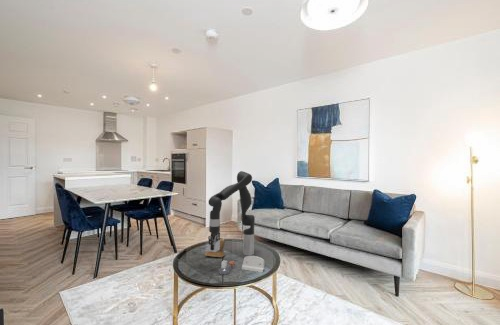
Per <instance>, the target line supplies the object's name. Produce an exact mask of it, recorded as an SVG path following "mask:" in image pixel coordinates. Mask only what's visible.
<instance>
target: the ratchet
mask: <svg viewBox="0 0 500 325" xmlns="http://www.w3.org/2000/svg"><path fill="white" fill-rule="evenodd" d="M235 266H236V262H235V261H234V260H230V261H229V262H228V260H225V259H223V260H222V261H221V266H220V267H219V268H218V273H219V275H221V276H227V275H229V274H230V270H232V268H234V267H235Z"/></svg>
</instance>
